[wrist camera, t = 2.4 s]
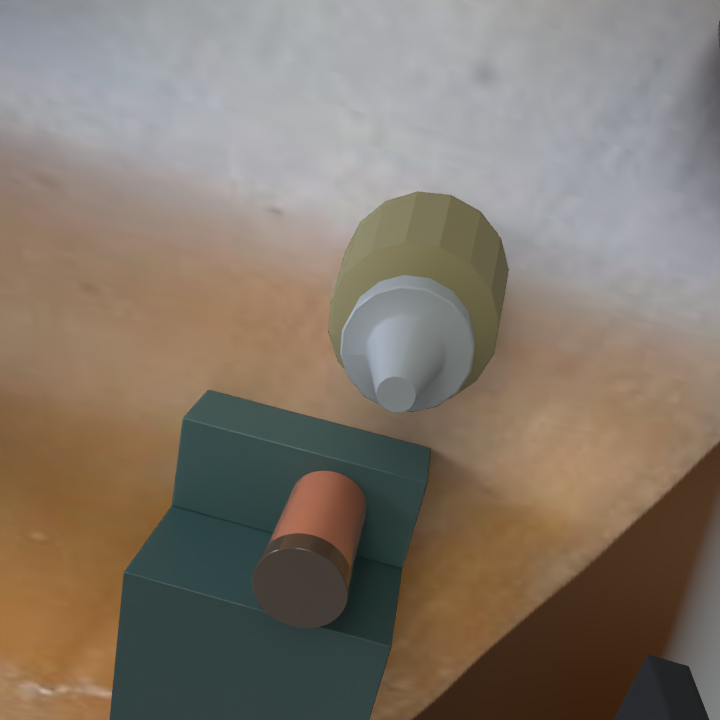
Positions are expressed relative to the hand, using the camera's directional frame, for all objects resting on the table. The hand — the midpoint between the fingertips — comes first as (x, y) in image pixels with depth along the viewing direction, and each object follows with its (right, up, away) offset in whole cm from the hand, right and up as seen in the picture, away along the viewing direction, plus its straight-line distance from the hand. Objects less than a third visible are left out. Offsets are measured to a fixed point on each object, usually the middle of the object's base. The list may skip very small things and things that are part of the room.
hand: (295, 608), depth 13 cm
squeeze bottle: (+5, +10, +23) cm, 26 cm away
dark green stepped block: (-3, -8, +31) cm, 33 cm away
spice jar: (0, -3, +25) cm, 25 cm away
